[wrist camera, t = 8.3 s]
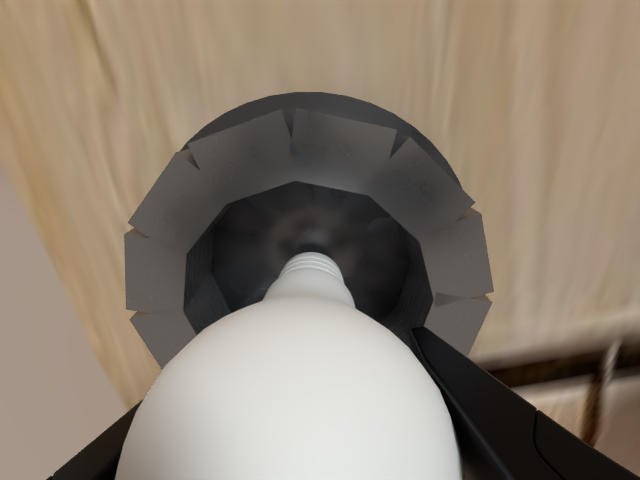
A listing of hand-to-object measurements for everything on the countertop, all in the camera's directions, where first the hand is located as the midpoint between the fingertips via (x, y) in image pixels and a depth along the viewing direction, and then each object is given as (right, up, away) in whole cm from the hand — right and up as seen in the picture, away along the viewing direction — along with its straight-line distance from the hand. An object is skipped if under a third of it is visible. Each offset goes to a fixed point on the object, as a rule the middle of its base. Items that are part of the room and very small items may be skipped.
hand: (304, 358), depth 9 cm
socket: (0, +2, +6) cm, 7 cm away
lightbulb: (0, +2, +5) cm, 5 cm away
